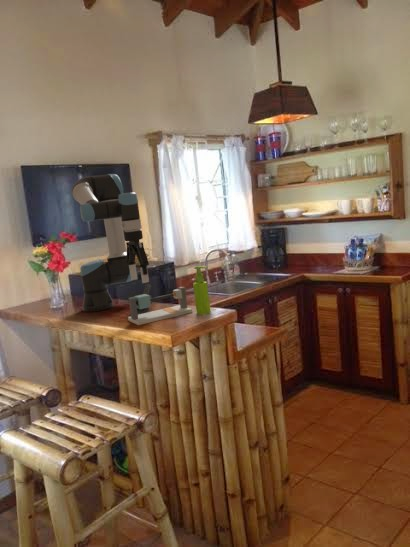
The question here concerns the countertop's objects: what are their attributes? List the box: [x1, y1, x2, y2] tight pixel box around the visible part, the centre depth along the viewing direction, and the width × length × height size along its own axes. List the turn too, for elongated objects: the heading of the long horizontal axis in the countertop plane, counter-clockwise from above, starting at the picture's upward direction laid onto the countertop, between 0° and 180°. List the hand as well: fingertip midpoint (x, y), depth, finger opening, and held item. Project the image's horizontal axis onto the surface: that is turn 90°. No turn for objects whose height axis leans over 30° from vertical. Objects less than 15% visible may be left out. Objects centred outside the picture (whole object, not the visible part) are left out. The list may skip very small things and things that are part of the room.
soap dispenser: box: [192, 265, 212, 315], centre depth 211 cm, size 6×7×20 cm
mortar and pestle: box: [137, 283, 153, 315], centre depth 228 cm, size 11×9×12 cm
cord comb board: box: [127, 286, 193, 326], centre depth 215 cm, size 12×25×10 cm, turn 118°
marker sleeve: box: [133, 293, 152, 309], centre depth 211 cm, size 5×5×5 cm
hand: (139, 281), depth 210 cm, fingers open, 13 cm apart
